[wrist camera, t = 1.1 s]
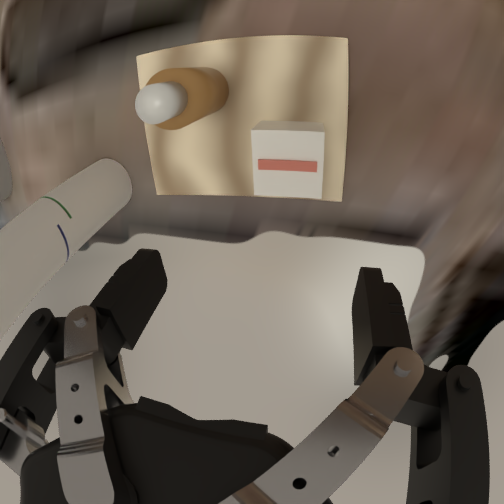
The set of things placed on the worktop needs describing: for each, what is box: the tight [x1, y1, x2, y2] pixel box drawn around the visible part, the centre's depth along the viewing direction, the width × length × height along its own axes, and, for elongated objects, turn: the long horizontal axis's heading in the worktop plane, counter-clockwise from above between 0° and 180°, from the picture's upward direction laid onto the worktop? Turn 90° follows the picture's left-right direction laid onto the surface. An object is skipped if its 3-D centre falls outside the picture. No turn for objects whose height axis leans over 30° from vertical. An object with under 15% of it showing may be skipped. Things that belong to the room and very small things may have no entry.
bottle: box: [135, 67, 229, 130], centre depth 20 cm, size 5×5×10 cm
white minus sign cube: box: [251, 121, 325, 199], centre depth 23 cm, size 6×6×5 cm
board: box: [137, 35, 348, 202], centre depth 25 cm, size 20×16×2 cm
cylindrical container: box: [0, 158, 132, 341], centre depth 23 cm, size 7×7×25 cm
